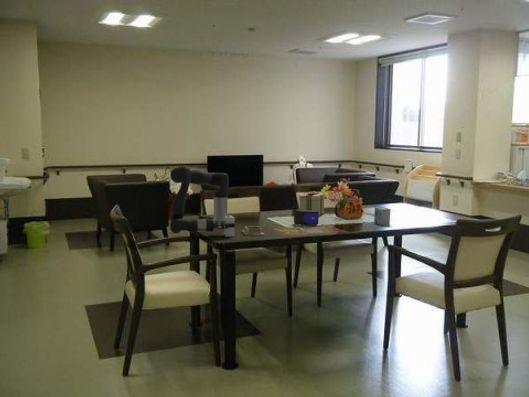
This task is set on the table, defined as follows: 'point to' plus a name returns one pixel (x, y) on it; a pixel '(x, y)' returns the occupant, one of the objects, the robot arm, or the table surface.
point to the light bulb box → (382, 216)
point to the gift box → (312, 202)
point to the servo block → (229, 230)
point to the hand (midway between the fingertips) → (233, 224)
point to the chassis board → (253, 231)
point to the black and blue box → (306, 217)
